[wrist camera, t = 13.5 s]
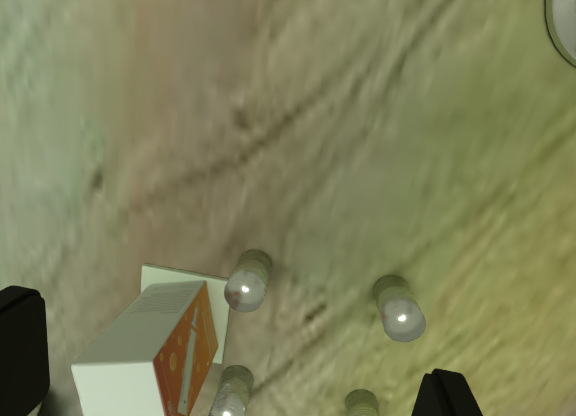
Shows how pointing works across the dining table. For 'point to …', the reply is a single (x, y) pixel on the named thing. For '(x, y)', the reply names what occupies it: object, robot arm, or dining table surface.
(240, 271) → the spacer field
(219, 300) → the sage mat
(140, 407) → the small box
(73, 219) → the dining table surface
